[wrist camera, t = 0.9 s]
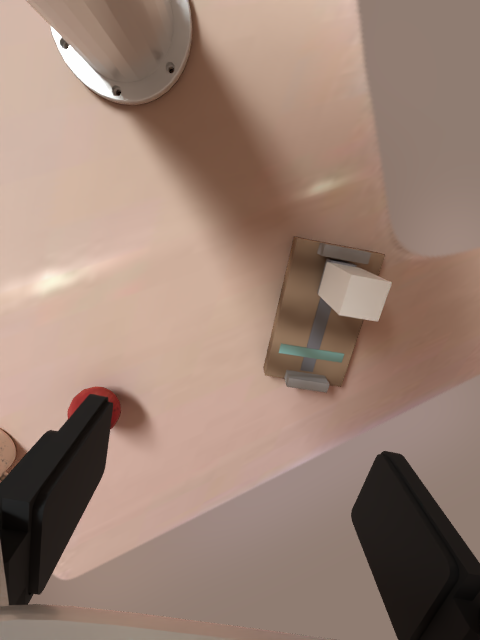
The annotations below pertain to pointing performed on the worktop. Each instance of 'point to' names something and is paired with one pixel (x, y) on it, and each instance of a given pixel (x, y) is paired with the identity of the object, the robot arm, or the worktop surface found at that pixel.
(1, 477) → the teacup with lid
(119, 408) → the onion
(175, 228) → the worktop surface
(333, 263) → the fader
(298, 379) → the wooden slider board
